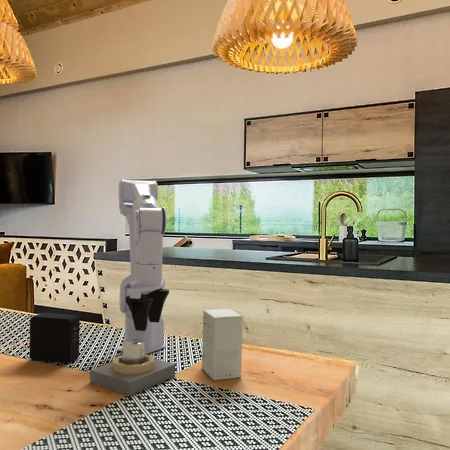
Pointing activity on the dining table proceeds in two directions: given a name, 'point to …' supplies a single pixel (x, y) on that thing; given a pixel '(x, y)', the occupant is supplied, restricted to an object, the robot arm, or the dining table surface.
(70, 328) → the electronic device
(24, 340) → the dining table surface
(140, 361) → the shiny metal cylinder
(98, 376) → the grey square plate
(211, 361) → the small box
